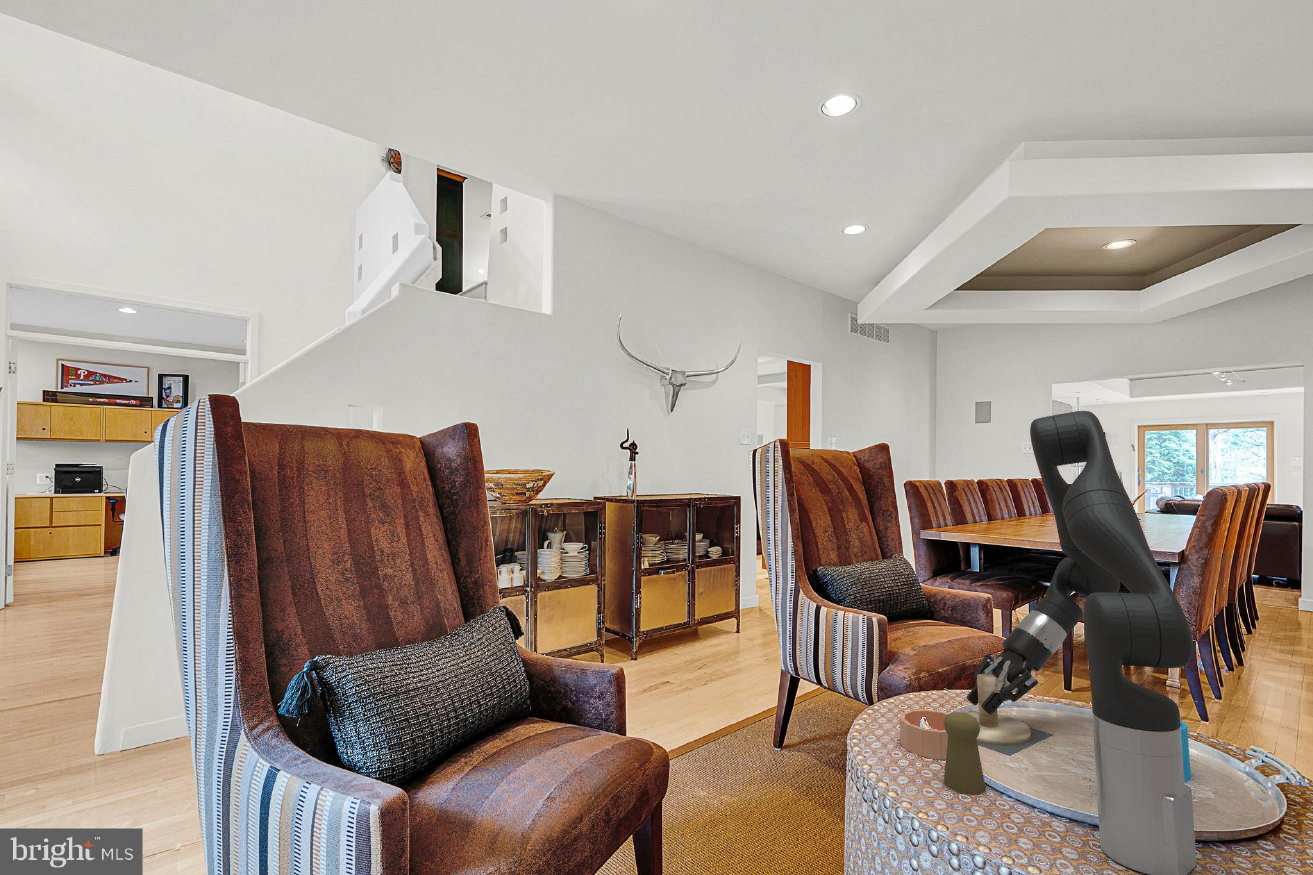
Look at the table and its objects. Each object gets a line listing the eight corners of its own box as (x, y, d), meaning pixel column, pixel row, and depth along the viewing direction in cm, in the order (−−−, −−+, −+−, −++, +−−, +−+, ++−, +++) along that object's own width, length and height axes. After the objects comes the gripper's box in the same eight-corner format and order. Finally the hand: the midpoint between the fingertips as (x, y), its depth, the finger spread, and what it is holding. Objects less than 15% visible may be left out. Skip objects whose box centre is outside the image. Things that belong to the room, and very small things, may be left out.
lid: (1045, 733, 121) (1042, 678, 122) (1006, 752, 113) (1003, 693, 114) (973, 712, 133) (971, 662, 133) (934, 727, 125) (931, 674, 126)
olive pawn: (976, 777, 105) (973, 708, 106) (992, 795, 99) (988, 722, 100) (938, 776, 105) (935, 707, 106) (951, 794, 99) (948, 721, 100)
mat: (1053, 736, 121) (1053, 734, 121) (1010, 757, 112) (1009, 755, 112) (971, 712, 134) (971, 710, 134) (926, 729, 125) (926, 727, 125)
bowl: (980, 751, 115) (978, 722, 115) (944, 767, 109) (943, 736, 109) (924, 732, 124) (923, 705, 124) (888, 745, 118) (887, 717, 118)
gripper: (998, 618, 132) (944, 681, 130) (1045, 635, 118) (985, 705, 116) (1024, 644, 132) (970, 707, 130) (1074, 663, 118) (1015, 734, 116)
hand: (978, 706), depth 123 cm, fingers open, 4 cm apart
